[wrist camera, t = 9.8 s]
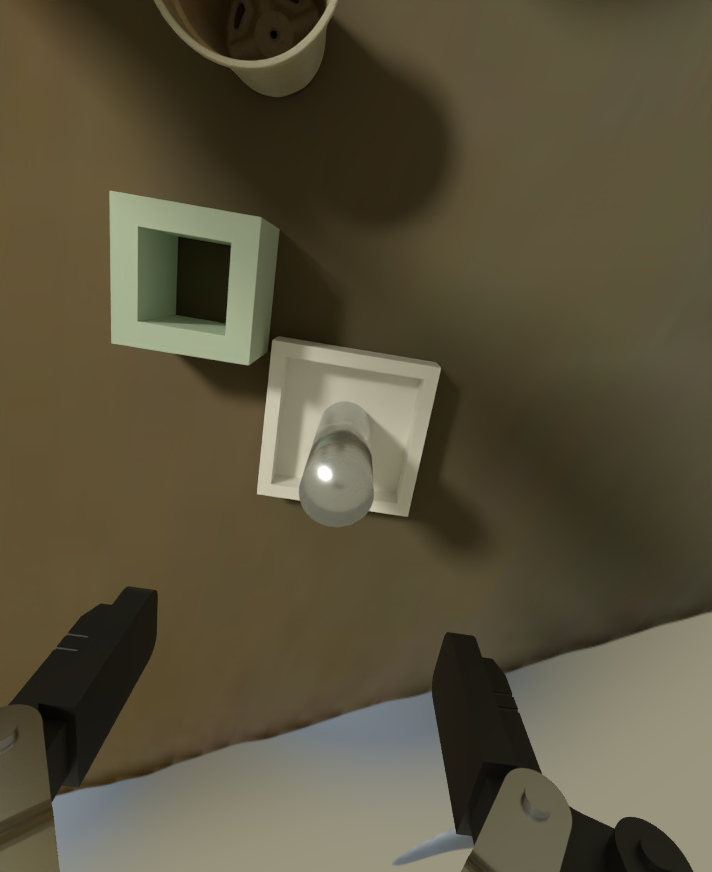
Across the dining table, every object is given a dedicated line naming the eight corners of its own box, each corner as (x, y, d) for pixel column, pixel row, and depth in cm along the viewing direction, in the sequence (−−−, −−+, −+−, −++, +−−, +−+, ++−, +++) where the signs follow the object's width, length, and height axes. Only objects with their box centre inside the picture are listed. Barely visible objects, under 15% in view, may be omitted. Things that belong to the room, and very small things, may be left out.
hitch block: (153, 333, 34) (111, 343, 28) (155, 207, 31) (109, 190, 25) (267, 351, 34) (248, 365, 28) (279, 229, 31) (261, 217, 26)
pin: (316, 445, 36) (294, 521, 25) (323, 397, 35) (303, 453, 23) (365, 453, 36) (367, 532, 25) (374, 405, 35) (380, 465, 23)
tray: (263, 480, 38) (256, 493, 35) (278, 336, 34) (272, 340, 31) (405, 502, 38) (407, 516, 36) (435, 362, 34) (441, 367, 32)
